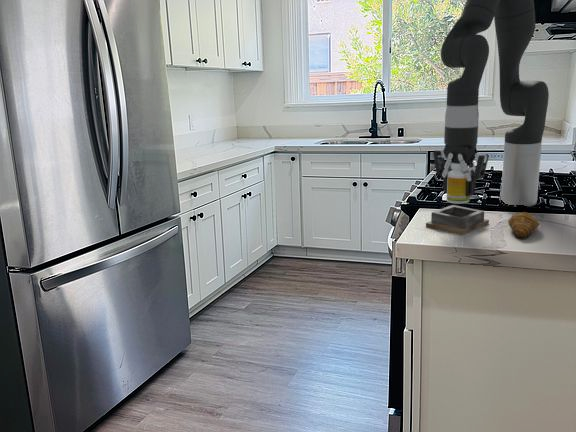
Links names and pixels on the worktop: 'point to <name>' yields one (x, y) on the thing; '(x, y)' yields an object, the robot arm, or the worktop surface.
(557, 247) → the worktop surface
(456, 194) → the supplement bottle
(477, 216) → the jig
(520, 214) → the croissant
